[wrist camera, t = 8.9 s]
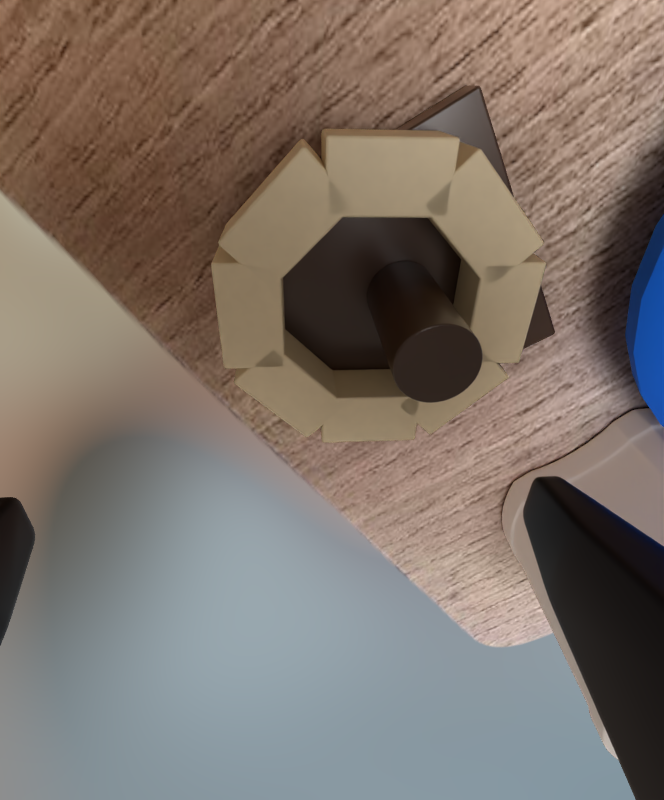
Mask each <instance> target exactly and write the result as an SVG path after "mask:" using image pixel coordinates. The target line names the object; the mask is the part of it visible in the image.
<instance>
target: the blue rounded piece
mask: <svg viewBox="0 0 664 800" xmlns="http://www.w3.org/2000/svg"><path fill="white" fill-rule="evenodd" d="M625 338H626V343H627V348H628V354H629V359H630V364H631V369H632V375H633V377H634V379H635V382H636V384H637V387H638V389H639V392H640V394H641V396H642V397H643V399H644V400H645V402H646V403H647V405H648V406H649V408H650V409H651V411H652V412H653V414H654V415H655V417H656V418H657V420H658V421H659V423H660V424H661V425H662V426H663V427H664V214H663V216H662V217H661V219H660V220H659V222H658V223H657V225H656V226H655V229H654V231H653V234H652V236H651V239H650V241H649V244H648V246H647V249H646V251H645V254H644V256H643V259H642V261H641V264H640V266H639V269H638V271H637V274H636V276H635V279H634V281H633V284H632V288H631V295H630V303H629V310H628V317H627V324H626V332H625Z"/></svg>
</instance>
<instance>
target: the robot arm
mask: <svg viewBox="0 0 664 800" xmlns="http://www.w3.org/2000/svg"><path fill="white" fill-rule="evenodd" d="M523 519H524V523H525V526H526V529H527V532H528V536H529V539H530V542H531V545H532V548H533V551H534V555H535V558H536V561H537V564H538V567H539V570H540V574H541V577H542V580H543V583H544V586H545V589H546V592H547V595H548V598H549V600H550V603H551V605H552V608H553V610H554V613H555V615H556V617H557V620H558V622H559V624H560V626H561V629H562V631H563V633H564V636H565V638H566V640H567V643H568V645H569V647H570V649H571V652H572V654H573V656H574V659H575V661H576V663H577V665H578V668H579V670H580V672H581V675H582V677H583V679H584V682H585V684H586V686H587V688H588V691H589V693H590V695H591V698H592V700H593V702H594V705H595V707H596V709H597V711H598V714H599V716H600V718H601V721H602V723H603V725H604V727H605V730H606V732H607V734H608V737H609V739H610V741H611V744H612V746H613V748H614V750H615V753H616V755H617V757H618V760H619V762H620V764H621V767H622V769H623V771H624V773H625V776H626V778H627V780H628V783H629V785H630V787H631V789H632V792H633V794H634V796H635V799H636V800H664V546H663V545H661V544H660V543H658V542H657V541H655V540H654V539H652V538H651V537H649V536H648V535H646V534H645V533H643V532H642V531H640V530H639V529H637V528H636V527H634V526H633V525H631V524H630V523H628V522H627V521H625V520H624V519H622V518H621V517H619V516H618V515H616V514H615V513H613V512H612V511H610V510H609V509H607V508H606V507H604V506H603V505H601V504H600V503H598V502H597V501H595V500H594V499H592V498H591V497H589V496H588V495H587V494H585V493H584V492H582V491H581V490H579V489H578V488H576V487H575V486H573V485H572V484H570V483H569V482H567V481H566V480H564V479H562V478H561V477H558V476H542V477H536V478H535V479H534V480H533V482H532V485H531V487H530V490H529V493H528V496H527V499H526V502H525V505H524V508H523ZM34 541H35V532H34V529H33V526H32V524H31V522H30V520H29V518H28V516H27V514H26V512H25V510H24V508H23V506H22V504H21V502H20V501H19V500H18V499H16V498H13V497H5V498H0V645H1V643H2V640H3V638H4V635H5V632H6V630H7V628H8V625H9V622H10V619H11V616H12V613H13V610H14V606H15V603H16V600H17V597H18V594H19V590H20V587H21V584H22V581H23V578H24V574H25V571H26V568H27V565H28V562H29V558H30V555H31V552H32V549H33V545H34Z"/></svg>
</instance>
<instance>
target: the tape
mask: <svg viewBox="0 0 664 800" xmlns="http://www.w3.org/2000/svg"><path fill="white" fill-rule="evenodd" d="M343 217H383V218H428V219H429V220H430V221H431V223H432V224H433V225H434V226H435V228H436V229H437V230H438V231H439V232H440V234H441V235H442V236H443V237H444V239H445V240H446V241H447V242H448V244H449V245H450V246H451V247H452V249H453V250H454V251H455V252H456V254H457V255H458V256H459V257H460V258H461V264H460V270H459V275H458V281H457V287H456V292H455V298H454V304H453V306H454V307H455V308H456V310H457V311H458V313H459V314H460V315H461V317H462V318H463V319H464V321H465V322H466V324H467V325H468V326H469V328H470V329H471V330H472V332H473V333H474V335H475V336H476V337H477V339H478V340H479V342H480V345H481V348H482V353H483V359H482V365H481V369H480V371H479V373H478V375H477V377H476V379H475V380H474V381H473V383H472V384H471V385H470V386H469V387H468V388H467V389H466V390H465V391H463V392H462V393H460V394H459V395H457V396H455V397H453V398H451V399H449V400H445V401H441V402H435V403H426V402H420V401H416V400H414V399H411V398H410V397H408V396H406V395H405V394H404V393H402V392H401V390H400V389H399V388H398V387H397V385H396V383H395V381H394V378H393V375H392V372H391V370H390V369H368V370H332V369H330V368H329V367H328V366H327V365H326V364H325V363H323V362H322V361H321V360H320V359H319V358H318V357H317V356H315V355H314V354H313V353H312V352H311V351H310V350H308V349H307V348H306V347H305V346H304V345H303V344H302V343H300V342H299V341H298V340H297V339H296V338H295V337H293V336H292V335H291V334H290V333H289V332H288V331H286V330H285V317H284V290H283V277H284V276H285V275H286V274H287V273H288V272H289V271H290V270H291V269H292V268H293V267H294V266H295V265H296V264H297V263H298V262H299V261H300V260H301V259H302V258H303V257H304V256H305V255H306V254H307V253H308V252H309V251H310V250H311V249H312V248H313V247H314V246H315V245H316V244H317V243H318V242H319V241H320V240H321V239H322V238H323V237H324V236H325V235H326V234H327V233H328V232H329V231H330V230H331V229H332V228H333V227H334V226H335V225H336V224H337V223H338V222H339V221H340V220H341V219H342V218H343ZM218 244H219V247H218V249H217V251H216V254H215V256H214V259H213V261H212V263H211V270H212V278H213V286H214V294H215V302H216V310H217V318H218V326H219V334H220V342H221V350H222V358H223V366H224V368H225V369H235V368H236V372H235V378H234V384H235V385H237V386H238V387H239V388H241V389H242V390H243V391H245V392H246V393H247V394H249V395H250V396H251V397H253V398H254V399H255V400H257V401H258V402H259V403H261V404H262V405H263V406H265V407H266V408H267V409H269V410H270V411H271V412H273V413H274V414H275V415H277V416H278V417H280V418H281V419H282V420H284V421H285V422H286V423H288V424H289V425H290V426H292V427H293V428H294V429H296V430H297V431H298V432H300V433H301V434H302V435H304V436H305V437H309V436H310V435H311V434H313V433H314V432H315V431H316V430H318V429H319V428H320V427H321V436H322V442H323V443H332V442H364V441H396V440H414V439H415V433H416V427H417V424H418V425H420V426H421V427H422V428H423V429H424V430H425V431H426V432H427V433H428V434H432V433H433V432H435V431H436V430H437V429H439V428H440V427H442V426H443V425H444V424H446V423H447V422H448V421H450V420H451V419H453V418H454V417H455V416H457V415H458V414H459V413H461V412H462V411H464V410H465V409H466V408H468V407H469V406H470V405H472V404H473V403H474V402H476V401H477V400H479V399H480V398H481V397H483V396H484V395H485V394H487V393H488V392H490V391H491V390H492V389H494V388H495V387H496V386H498V385H499V384H501V383H502V382H503V381H505V380H506V379H507V378H508V375H507V374H506V372H505V371H504V370H503V368H502V367H501V365H500V364H499V363H518V362H519V361H520V357H521V354H522V350H523V346H524V343H525V339H526V336H527V332H528V328H529V325H530V321H531V318H532V314H533V311H534V307H535V303H536V300H537V296H538V293H539V289H540V286H541V282H542V278H543V275H544V271H545V268H546V262H545V261H543V260H542V259H540V258H539V257H538V256H536V255H535V254H533V253H534V252H535V251H536V250H538V249H539V248H540V247H541V246H542V245H543V244H544V241H543V240H542V238H541V237H540V235H539V234H538V232H537V231H536V229H535V228H534V226H533V225H532V223H531V222H530V221H529V219H528V218H527V216H526V215H525V213H524V212H523V210H522V209H521V207H520V206H519V204H518V203H517V201H516V200H515V198H514V197H513V195H512V194H511V193H510V191H509V190H508V188H507V187H506V185H505V184H504V182H503V181H502V179H501V178H500V176H499V175H498V173H497V172H496V170H495V169H494V168H493V166H492V165H491V163H490V162H489V160H488V159H487V157H486V156H485V154H484V153H483V151H482V150H481V149H479V148H476V147H473V146H471V145H468V144H465V143H462V142H460V139H459V138H458V137H456V136H453V135H450V134H447V133H444V132H441V131H430V130H375V129H323V130H322V132H321V158H320V157H319V156H318V155H317V154H316V152H315V151H314V150H313V149H312V148H311V147H310V146H309V144H308V143H307V142H306V141H305V140H303V139H301V140H299V142H298V143H297V144H296V145H295V146H294V147H293V148H292V150H291V151H290V152H289V153H288V154H287V155H286V156H285V157H284V159H283V160H282V161H281V162H280V163H279V164H278V165H277V167H276V168H275V169H274V170H273V171H272V172H271V173H270V175H269V176H268V177H267V178H266V179H265V180H264V181H263V183H262V184H261V185H260V186H259V187H258V188H257V189H256V190H255V192H254V193H253V194H252V195H251V196H250V197H249V198H248V200H247V201H246V202H245V203H244V204H243V205H242V206H241V208H240V209H239V210H238V211H237V212H236V213H235V214H234V216H233V217H232V218H231V219H230V220H229V221H228V222H227V224H226V225H225V227H224V230H223V232H222V234H221V237H220V239H219V241H218Z"/></svg>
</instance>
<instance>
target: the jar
mask: <svg viewBox="0 0 664 800" xmlns="http://www.w3.org/2000/svg"><path fill="white" fill-rule="evenodd" d="M542 476H558V477H561V478H562V479H564V480H566V481H567V482H569V483H570V484H572V485H573V486H575V487H576V488H578V489H579V490H581V491H582V492H584V493H585V494H587V495H588V496H589V497H591V498H592V499H594V500H595V501H597V502H598V503H600V504H601V505H603V506H604V507H606V508H607V509H609V510H610V511H612V512H613V513H615V514H616V515H618V516H619V517H621V518H622V519H624V520H625V521H627V522H628V523H630V524H631V525H633V526H634V527H636V528H637V529H639V530H640V531H642V532H643V533H645V534H646V535H648V536H649V537H651V538H652V539H654V540H655V541H657V542H658V543H660V544H661V545H663V546H664V427H663V426H662V425H661V424H660V423H659V421H658V420H657V418H656V417H655V415H654V414H653V412H652V411H651V409H650V408H645V409H636V410H632V411H630V412H629V413H627V414H625V415H624V416H622V417H620V418H619V419H617V420H615V421H614V422H612V423H611V424H610V425H609V426H608V427H607V428H606V429H605V430H604V431H602V432H601V433H600V434H599V435H597V436H596V437H595V438H593V439H592V440H591V441H589V442H588V443H587V444H585V445H584V446H582V447H581V448H579V449H577V450H576V451H574V452H572V453H571V454H569V455H567V456H565V457H563V458H561V459H559V460H557V461H555V462H553V463H551V464H549V465H546V466H544V467H541V468H539V469H536V470H532V471H530V472H529V473H527V474H525V475H524V476H522V477H520V478H519V479H517V480H516V481H514V482H513V484H512V486H511V487H510V489H509V491H508V494H507V496H506V499H505V502H504V505H503V511H502V526H503V531H504V534H505V537H506V539H507V541H508V543H509V545H510V547H511V549H512V552H513V554H514V555H515V557H516V559H517V560H518V562H519V563H520V564H521V566H522V568H523V570H524V572H525V574H526V576H527V578H528V580H529V583H530V585H531V587H532V589H533V591H534V593H535V595H536V597H537V599H538V601H539V603H540V606H541V608H542V610H543V612H544V614H545V616H546V618H547V620H548V622H549V624H550V627H551V629H552V631H553V633H554V635H555V637H556V639H557V641H558V643H559V645H560V647H561V649H562V652H563V654H564V656H565V658H566V660H567V662H568V664H569V666H570V668H571V670H572V673H573V675H574V677H575V679H576V681H577V683H578V685H579V687H580V689H581V691H582V694H583V696H584V698H585V700H586V702H587V704H588V706H589V713H590V716H591V718H592V721H593V723H594V725H595V727H596V729H597V731H598V733H599V735H600V738H601V740H602V742H603V744H604V746H605V747H606V749H607V750H608V751H609V752H610V753H611V754H612V755H613V756H614V757H615V758H617V759H618V757H617V755H616V753H615V750H614V748H613V746H612V744H611V741H610V739H609V737H608V734H607V732H606V730H605V727H604V725H603V723H602V721H601V718H600V716H599V714H598V711H597V709H596V707H595V705H594V702H593V700H592V698H591V695H590V693H589V691H588V688H587V686H586V684H585V682H584V679H583V677H582V675H581V672H580V670H579V668H578V665H577V663H576V661H575V659H574V656H573V654H572V652H571V649H570V647H569V645H568V643H567V640H566V638H565V636H564V633H563V631H562V629H561V626H560V624H559V622H558V620H557V617H556V615H555V613H554V610H553V608H552V605H551V603H550V600H549V598H548V595H547V592H546V589H545V586H544V583H543V580H542V577H541V574H540V570H539V567H538V564H537V561H536V558H535V555H534V551H533V548H532V545H531V542H530V539H529V536H528V532H527V529H526V526H525V523H524V519H523V508H524V505H525V502H526V499H527V496H528V493H529V490H530V487H531V485H532V482H533V480H534V479H535V478H536V477H542Z"/></svg>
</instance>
